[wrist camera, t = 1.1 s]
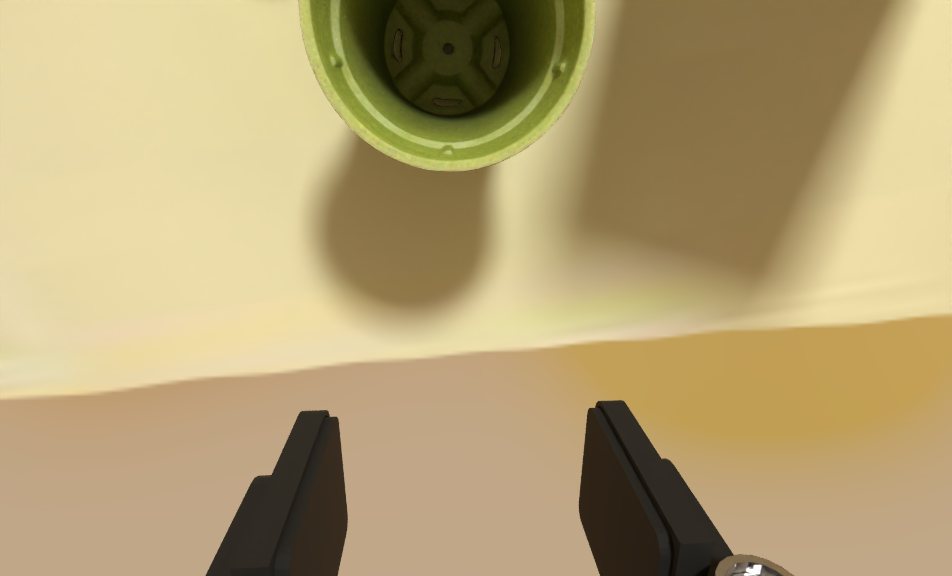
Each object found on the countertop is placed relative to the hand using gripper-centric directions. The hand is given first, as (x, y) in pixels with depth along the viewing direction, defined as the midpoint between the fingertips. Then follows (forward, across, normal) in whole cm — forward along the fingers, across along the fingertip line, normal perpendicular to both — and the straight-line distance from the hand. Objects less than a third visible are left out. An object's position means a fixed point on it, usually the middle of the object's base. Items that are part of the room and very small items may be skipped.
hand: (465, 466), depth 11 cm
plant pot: (+18, 0, -10) cm, 20 cm away
